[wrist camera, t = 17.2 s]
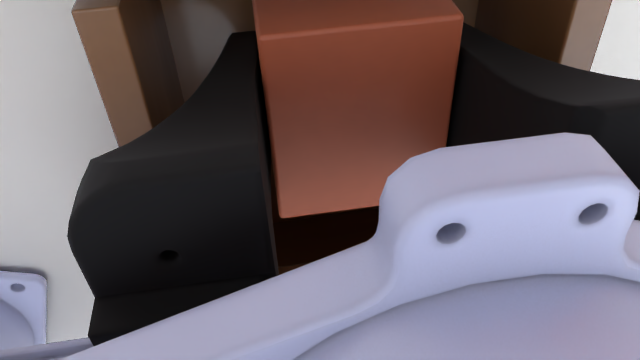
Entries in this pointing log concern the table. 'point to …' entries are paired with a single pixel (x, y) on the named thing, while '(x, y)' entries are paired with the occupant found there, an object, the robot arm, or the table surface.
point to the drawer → (237, 16)
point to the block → (353, 94)
